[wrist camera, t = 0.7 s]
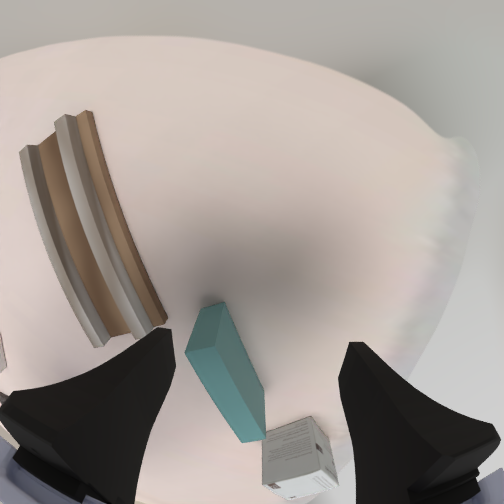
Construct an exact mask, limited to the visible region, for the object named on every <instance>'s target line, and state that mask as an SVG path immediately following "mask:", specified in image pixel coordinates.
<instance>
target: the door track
mask: <svg viewBox="0 0 504 504" xmlns="http://www.w3.org/2000/svg"><path fill="white" fill-rule="evenodd" d="M54 125H55V130H56V131H55V132H54V133H53V134H52V135H50V136H49V137H48V138H47V139H45V140H44V141H43V142H42V143H40V144H39V145H26V146H25V147H24V148H23V149H22V150H21V151H20V152H19V154H20V160H21V165H22V170H23V174H24V179H25V183H26V187H27V191H28V195H29V199H30V203H31V206H32V209H33V213H34V216H35V219H36V223H37V226H38V229H39V232H40V234H41V237H42V240H43V243H44V246H45V248H46V251H47V254H48V256H49V259H50V261H51V264H52V266H53V268H54V271H55V273H56V275H57V278H58V280H59V282H60V284H61V287H62V289H63V291H64V293H65V295H66V297H67V299H68V301H69V303H70V305H71V307H72V309H73V311H74V313H75V315H76V317H77V319H78V321H79V322H80V324H81V326H82V328H83V330H84V331H85V333H86V335H87V337H88V338H89V340H90V342H91V343H92V345H93V347H94V348H98V347H103V346H104V345H105V344H106V343H107V342H108V340H109V339H110V338H111V337H114V336H118V335H123V334H127V333H132V335H133V336H134V338H135V340H136V339H140V338H143V337H144V336H146V335H147V334H148V333H150V332H151V330H152V329H153V327H155V326H159V325H163V324H165V322H166V321H167V319H168V317H167V315H166V313H165V311H164V309H163V307H162V305H161V303H160V301H159V299H158V297H157V295H156V293H155V290H154V288H153V286H152V284H151V282H150V279H149V277H148V275H147V273H146V271H145V268H144V266H143V264H142V261H141V259H140V257H139V254H138V252H137V249H136V247H135V244H134V242H133V239H132V237H131V234H130V232H129V229H128V227H127V224H126V221H125V219H124V216H123V213H122V211H121V208H120V205H119V202H118V199H117V196H116V194H115V191H114V188H113V185H112V182H111V178H110V175H109V172H108V169H107V166H106V162H105V159H104V156H103V152H102V149H101V145H100V141H99V138H98V134H97V130H96V126H95V122H94V118H93V114H92V112H90V111H87V110H85V111H83V112H82V113H80V114H79V115H78V116H76V117H75V116H71V115H67V114H64V115H63V116H62V117H60V118H59V119H58V120H56V121H55V122H54Z"/></svg>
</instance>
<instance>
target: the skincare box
mask: <svg viewBox="0 0 504 504" xmlns="http://www.w3.org/2000/svg"><path fill="white" fill-rule="evenodd" d="M262 485H263V486H264V487H266V488H268V489H269V490H271V491H272V492H273V493H274V494H276V495H279V496H281V497H282V498H284V499H286V500H292V499H296V498H300V497H304V496H308V495H312V494H315V493H319V492H323V491H326V490H329V489H332V488H335V487H338V486H339V483H338V478H337V473H336V469H335V464H334V459H333V455H332V450H331V446H330V442H329V439H328V438H327V437H326V436H325V434H324V433H323V432H322V431H321V430H320V428H319V427H318V426H317V424H316V423H315V421H314V420H313V418H312V417H307V418H304V419H302V420H299V421H296V422H294V423H291V424H288V425H286V426H283V427H280V428H277V429H274V430H271V431H268V432H266V439H263V440H262Z"/></svg>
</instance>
